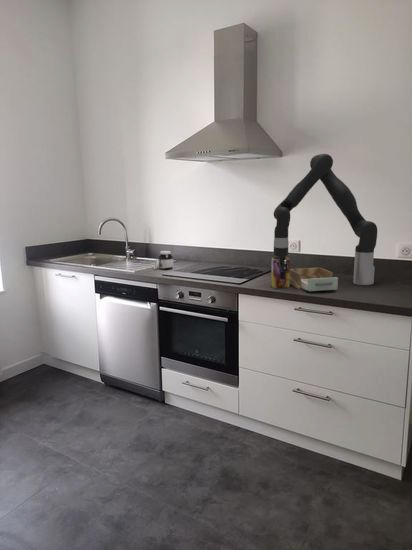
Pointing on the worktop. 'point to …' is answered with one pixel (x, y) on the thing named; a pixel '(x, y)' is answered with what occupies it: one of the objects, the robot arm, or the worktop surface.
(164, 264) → the spread jar
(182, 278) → the worktop surface
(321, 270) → the caddy
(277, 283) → the candy box
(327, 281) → the white boxy piece
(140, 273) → the worktop surface
